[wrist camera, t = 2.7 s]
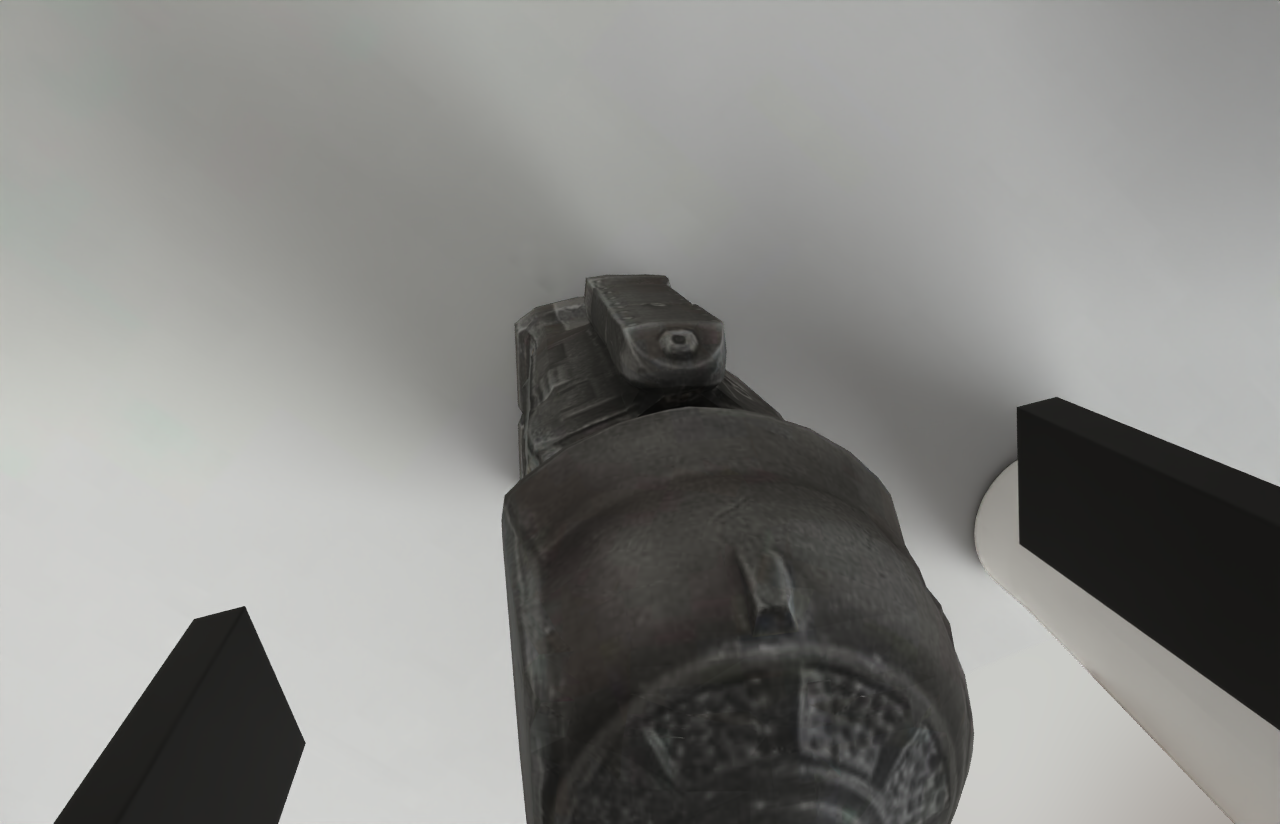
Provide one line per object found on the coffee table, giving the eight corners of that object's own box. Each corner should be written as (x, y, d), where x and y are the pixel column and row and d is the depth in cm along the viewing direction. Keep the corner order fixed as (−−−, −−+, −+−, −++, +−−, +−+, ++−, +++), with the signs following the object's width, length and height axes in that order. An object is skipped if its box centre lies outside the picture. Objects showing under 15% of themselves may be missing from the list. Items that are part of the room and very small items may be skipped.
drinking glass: (906, 513, 23) (1501, 1029, 9) (1076, 372, 23) (1982, 696, 9) (1007, 637, 26) (1606, 1202, 12) (1164, 512, 25) (1993, 948, 11)
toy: (709, 535, 22) (1040, 1144, 8) (515, 549, 22) (526, 1259, 8) (721, 254, 20) (1234, 456, 6) (502, 255, 19) (478, 502, 5)
